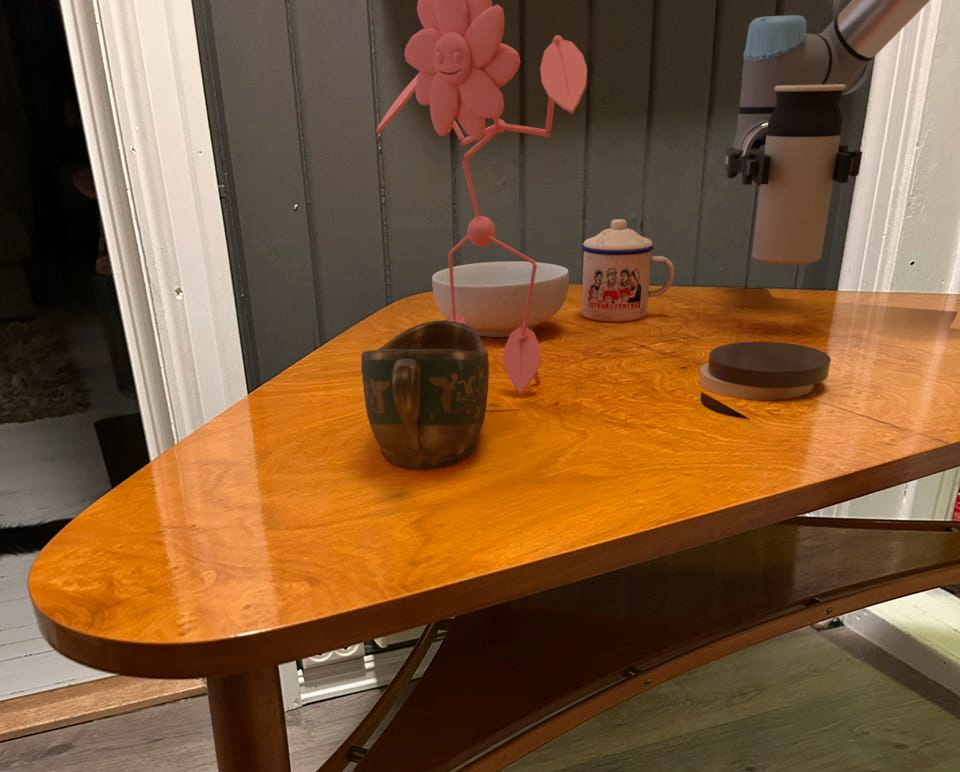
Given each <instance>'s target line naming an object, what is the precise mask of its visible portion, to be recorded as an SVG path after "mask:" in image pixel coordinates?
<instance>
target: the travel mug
mask: <svg viewBox="0 0 960 772" xmlns="http://www.w3.org/2000/svg"><path fill="white" fill-rule="evenodd" d="M845 88H846V86H845V85H844V84H829V85H783V86H776V87H775V88H774V90H775V91H776V96H777V106H776V108H775V109H774V111H773V113H772V115H771V116H770V118H769V120H768V127H767V136H766V144H765V152H764V154H766V155H768V156H770V157H771V164H770V172H769V181H768V184H761V185H760V186H759V194H758V202H757V211H756V219H755V227H754V235H753V243H752V252H751V257H752V258H753V259H755V260H756V261H757V262H761V263H762V264H763V263H764V264H770V265H771V264H772V265H781V266H782V265H786V266H792V265H793V266H794V265H796V266H797V265H809V264H813V263H815V262H817V261H819V260H820V259H822V256H823V248H824V244H825V243H824V242H825V237H826V228H827V223H828V218H829V211H830V205H831V198H832V191H833V186H834V185H833V184H834V180H833V179H834V172H835V166H836V159H837V153H838V148H839V145H840V141H841V135H842V129H843V128H842V127H843V122H844V118H843V115H842V111H841V108H840V105H839V104H840V101H841V97H842V96H843V95H842V92H843V90H844V89H845Z"/></svg>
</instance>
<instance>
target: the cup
mask: <svg viewBox="0 0 960 772" xmlns="http://www.w3.org/2000/svg"><path fill="white" fill-rule="evenodd" d="M360 358H361V361H360V363H361V376H362V377H361V378H362V386H363V395H364V404H365V410H366V415H367V416H366V417H367V419H368V422H369V426H370V429H371V431H372V434H373V437H374V439H375V441H376V443H377V444H378V446H379V447H380V450H381V451H380V453H381V455H382V456H383V457H384V459H385V460H386V462H387V463H390V464H392V465H393V466H395V467H399V468H403V469H407V470H415V471H422V470H423V471H428V470H437V469H444V468H448V467H452V466H454V465H458V464H459V463H461V462H463V461H464V460H466V459H467V458H468V457H470V456H471V454H472V453H473V452H474V451H475V450H476V447H477V445H478V443H479V436H480V433H481V431H482V429H483V425H484V422H485V418H486V413H487V412H486V411H487V406H488V405H487V404H488V393H489V382H490V381H489V380H490V379H489V378H490V364H489V363H490V361H489V353H488V350H487V348H486V346H485V343H484V342H483V340H482V338H481V336H479V335H478V334H477V333H476V332H475V331H474V330H473V329H472V328H470V327H469V326H468V325H466V324H464V323H458V322H455V321H448V319H444V320H443V319H441V320H440V319H439V320H431V321H426V322H422V323H420V324H417V325H415V326H412V327H410V328H408V329H406V330H404V331H402V332H401V333H399V334H398V335H396V336H394V337H393V338H392V339H391V340H389V341H388V342H386V343H385V344H383V345H382V346H381V347H379V348H378V349H372V350H364V351H362V353H361V355H360Z"/></svg>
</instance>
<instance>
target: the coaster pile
mask: <svg viewBox="0 0 960 772" xmlns="http://www.w3.org/2000/svg"><path fill="white" fill-rule="evenodd" d="M831 361H832V360H831V357H830V355H828V354H827V352H824V351H822V350H820V349H817V348H814V347H811V346H806V345H801V344H795V343H790V342H789V343H788V342H777V341H744V342H734V343H728V344H723V345H720V346H717V347H715V348H712V349H711V350H710V351H709V355H708V362H706V363H704V364H702V366H701V367H700V371H699V379H698V383H699V385H700V386H701V387H702V388H703V389H705V390H707V391H709V392H711V393H714V394H716V395H721V396H725V397H730V398H736V399H744V400H756V401H757V400H758V401H769V400H770V401H773V400H777V401H778V400H786V399H794V398H799V397H802V396H805V395H808V394H809V393H810V392H812V391H813V390H814V385H817V384H820V383H822V382H824V381H826V380H827V379H828V377H829V372H830V368H831V367H830V366H831ZM700 403H701V404H702V406H704V407H705V408H707V409H708V410H710V411H711V412H714V413H717V414H720V415H724V416H729V417H734V418H738V419H746V420H751V418H749V417H747V416H746V415H744V414H742V413H740V412H739V411H737V410H736V409H733V408H731V407H730V406H729V405H727V404H724V403H723V402H721V401H719V400H717V399H716V398H714V397H712V396H711V395H709V394H707V393H705V392H703V391H700Z"/></svg>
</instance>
